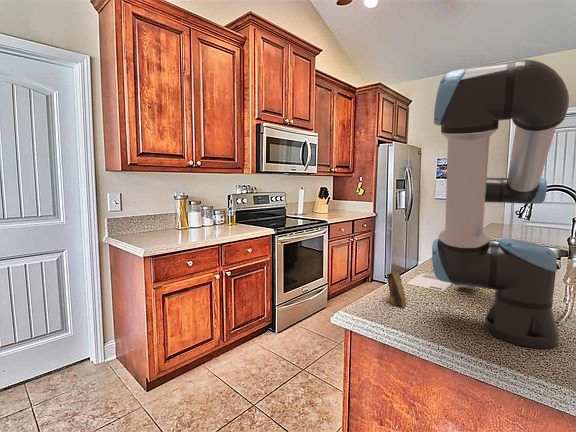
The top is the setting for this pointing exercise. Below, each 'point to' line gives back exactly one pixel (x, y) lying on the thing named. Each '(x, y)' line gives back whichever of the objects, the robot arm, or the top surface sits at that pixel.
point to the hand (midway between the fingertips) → (466, 283)
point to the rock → (396, 290)
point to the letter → (429, 282)
